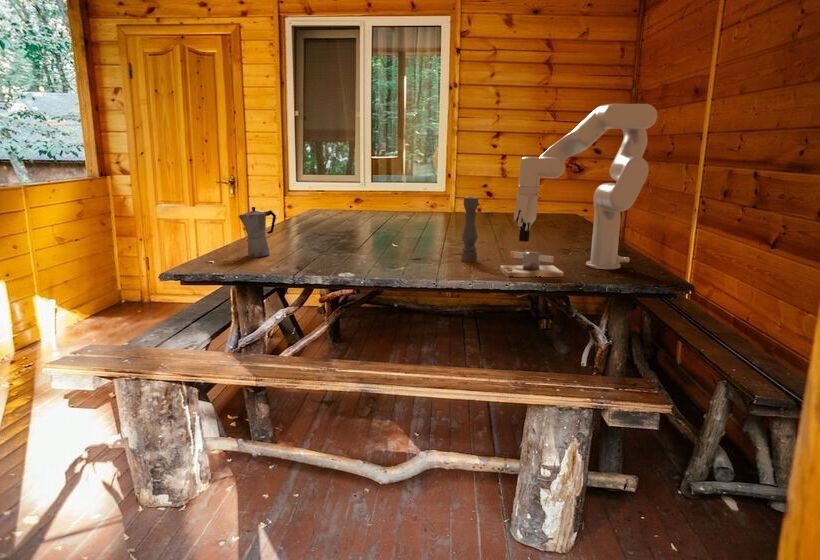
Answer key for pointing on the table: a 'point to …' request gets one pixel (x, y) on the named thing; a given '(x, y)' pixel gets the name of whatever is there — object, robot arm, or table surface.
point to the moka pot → (257, 231)
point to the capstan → (531, 259)
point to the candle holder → (469, 230)
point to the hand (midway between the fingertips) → (523, 241)
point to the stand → (531, 271)
